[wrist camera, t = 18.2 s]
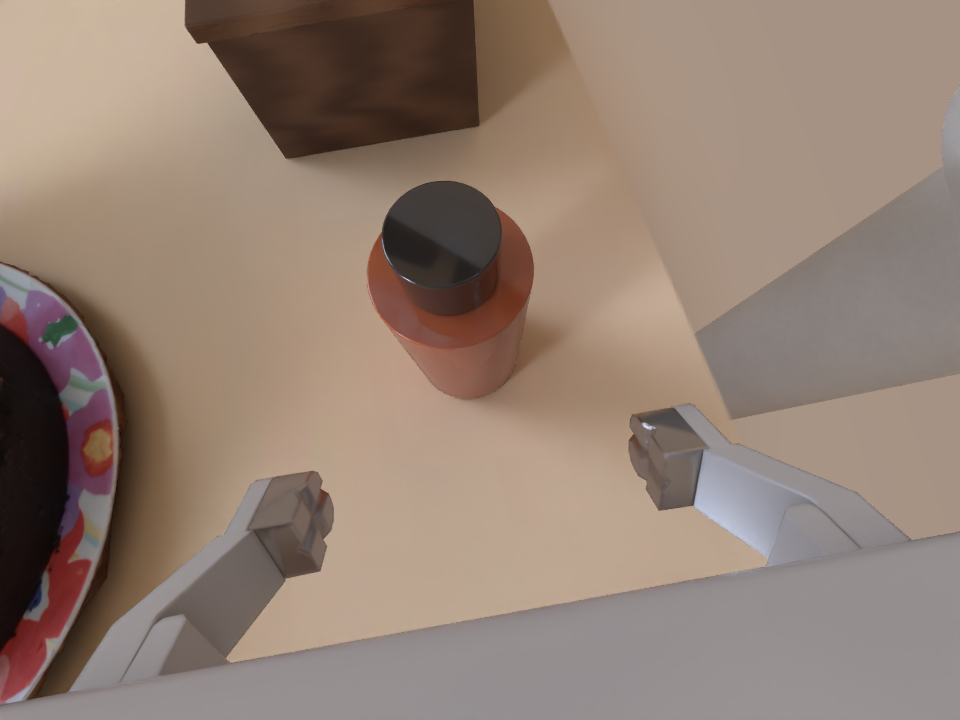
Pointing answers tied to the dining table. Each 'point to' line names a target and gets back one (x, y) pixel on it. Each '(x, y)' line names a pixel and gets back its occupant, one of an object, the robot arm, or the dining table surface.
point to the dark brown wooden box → (345, 67)
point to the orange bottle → (453, 286)
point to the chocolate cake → (50, 475)
